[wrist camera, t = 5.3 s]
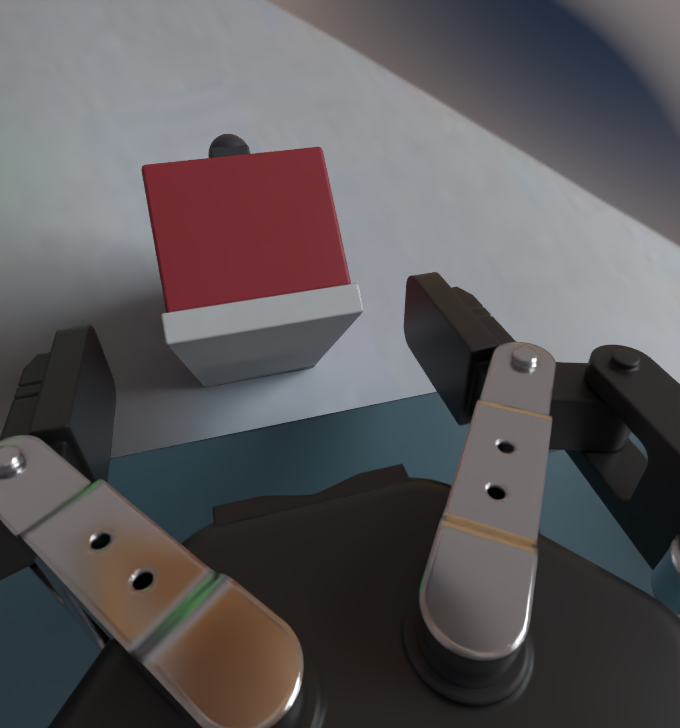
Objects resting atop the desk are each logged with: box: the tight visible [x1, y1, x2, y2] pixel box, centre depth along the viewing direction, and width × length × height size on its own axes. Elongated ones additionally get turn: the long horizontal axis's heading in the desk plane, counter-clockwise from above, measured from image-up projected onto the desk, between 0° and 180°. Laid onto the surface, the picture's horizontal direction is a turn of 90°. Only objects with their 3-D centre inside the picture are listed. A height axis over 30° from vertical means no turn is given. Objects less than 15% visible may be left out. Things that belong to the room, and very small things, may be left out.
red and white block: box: [142, 134, 364, 387], centre depth 16 cm, size 4×6×10 cm
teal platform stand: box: [0, 392, 656, 728], centre depth 17 cm, size 20×14×6 cm
